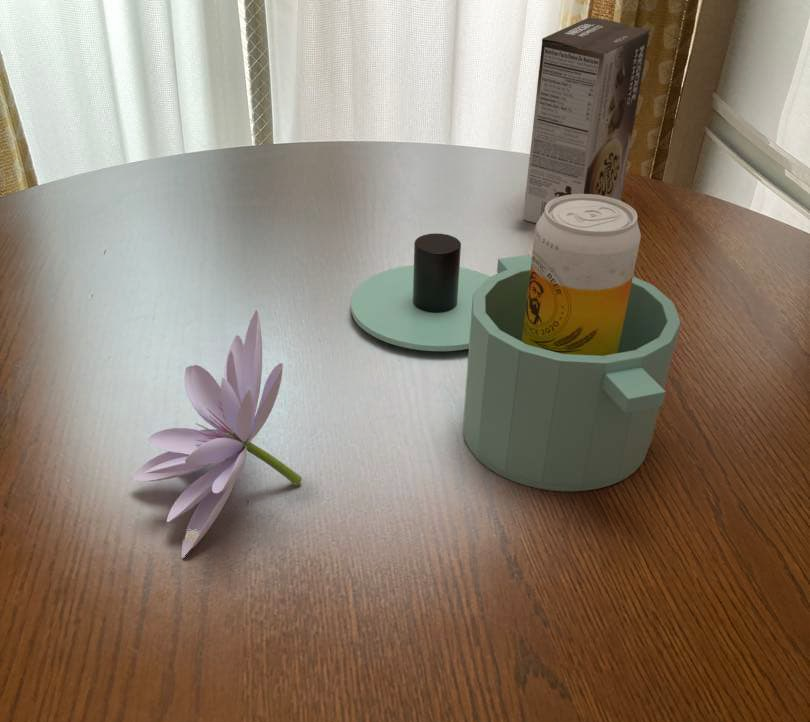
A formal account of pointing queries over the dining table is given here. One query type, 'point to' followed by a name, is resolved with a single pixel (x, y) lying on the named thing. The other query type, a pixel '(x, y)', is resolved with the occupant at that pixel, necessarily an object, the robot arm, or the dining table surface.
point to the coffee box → (584, 111)
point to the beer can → (581, 275)
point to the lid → (421, 299)
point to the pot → (563, 390)
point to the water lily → (218, 432)
